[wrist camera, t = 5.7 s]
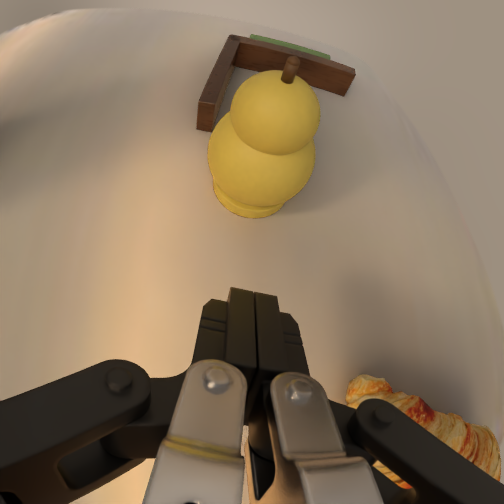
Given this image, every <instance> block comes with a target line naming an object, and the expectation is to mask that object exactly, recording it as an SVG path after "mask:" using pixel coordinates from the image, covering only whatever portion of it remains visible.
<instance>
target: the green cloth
mask: <svg viewBox="0 0 504 504" xmlns="http://www.w3.org/2000/svg"><path fill="white" fill-rule="evenodd" d="M250 38H251V39H256V40H260V41H264V42H269V43H273V44H277V45H281V46H285V47H288V48H292V49H296V50H299V51H303V52H306V53H309V54H313V55H316V56H319V57H322V58H325V59H328V60H330V55H327V54H324V53H321V52H318V51H314V50H311V49H308V48H305V47H301V46H298V45H294V44H290V43H287V42H283V41H279V40H275V39H271V38H267V37H262V36H258V35H253V34H251V36H250Z"/></svg>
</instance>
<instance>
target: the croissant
mask: <svg viewBox="0 0 504 504" xmlns="http://www.w3.org/2000/svg"><path fill="white" fill-rule="evenodd" d="M371 398H377V399H382V400H385V401H387V402H389V403H391V404H393V405H394V406H395V407H397V408H398V409H399V410H401V411H402V412H403V413H405V414H406V415H407V416H409V417H410V418H411V419H413V420H414V421H415V422H417V423H418V424H419V425H421V426H422V427H423V428H425V429H426V430H427V431H429V432H430V433H432V434H433V435H434V436H436V437H437V438H438V439H440V440H441V441H442V442H444V443H445V444H447V445H448V446H449V447H451V448H452V449H453V450H455V451H456V452H458V453H459V454H460V455H462V456H463V457H465V458H466V459H467V460H469V461H470V462H472V463H473V464H475V465H476V466H477V467H479V468H480V469H482V470H483V471H485V472H486V473H487V474H489V475H490V476H492V477H493V478H495V479H496V480H498V481H500V475H501V458H500V449H499V446H498V443H497V441H496V438H495V436H494V434H493V433H492V432H491V430H490V429H489V428H488V427H487V426H479V425H476V424H470V423H466V422H465V421H463V420H462V417H461V416H459V415H456V414H453V413H448V414H447V415H446V414H444V413H440V412H437V411H434V410H432V409H431V408H430V407H429V406H428V405H427V404H426V403H425V402H424V401H423V400H422V399H421V398H420V397H418V396H415V395H410V396H408V395H406V394H405V393H403V392H402V391H400V392H396V393H393V392H392V388H391V387H390V385H389V383H387V382H386V381H385V379H384V378H375V377H372V376H369V375H366V374H364V375H359V376H358V377H356V378H354V380H351V381H350V382H349V386H348V389H347V394H346V399H345V400H346V402H347V406H349V407H352V408H355V409H357V407H358V406H359V404H360V403H361V402H363V401H364V400H366V399H371ZM373 466H374V467H375V468H376V469H378V470H379V471H380V472H381V473H383V474H384V475H385V476H387V477H388V478H389V479H390V480H392V481H393V482H394V483H396V484H397V485H398V486H400V487H401V488H405V489H409V488H412V486H410V485H409V484H408V483H406V482H405V481H404V480H402V479H401V478H400V477H398V476H397V475H396V474H394V473H393V472H392V471H391V470H389V469H388V468H387V467H386V466H384V465H383V464H382V463H380V462H379V461H377V462H376V463H375V464H374V465H373Z"/></svg>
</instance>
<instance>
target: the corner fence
mask: <svg viewBox="0 0 504 504" xmlns="http://www.w3.org/2000/svg"><path fill="white" fill-rule="evenodd" d="M290 56H296V57H298V58H299V60H300V65H299V68H298V70H297V73H296V76H298V77H300V78H301V79H303V80H304V81H305V82H306V83H307V84H308V85H311V86H314V87H317V88H320V89H324V90H327V91H330V92H333V93H336V94H339V95H342V96H345V94H346V92H347V90H348V88H349V87H350V85H351V83H352V81H353V79H354V77H355V75H356V74H355V69H354V68H351V67H348V66H346V65H343V64H340V63H337V62H334V61H331V60H328V59H325V58H322V57H319V56H316V55H313V54H309V53H306V52H303V51H299V50H296V49H292V48H288V47H285V46H281V45H277V44H273V43H269V42H264V41H260V40H256V39H251V38H246V37H241V36H236V35H229V37H228V39H227V41H226V43H225V45H224V47H223V49H222V51H221V53H220V55H219V57H218V59H217V61H216V64H215V66H214V68H213V70H212V72H211V74H210V76H209V79H208V81H207V83H206V85H205V88H204V90H203V92H202V94H201V97H200V99H199V102H198V114H197V128H196V129H198V130H203V131H208V132H212V129H213V126H214V123H215V120H216V117H217V115H218V112H219V109H220V106H221V103H222V100H223V98H224V95H225V92H226V89H227V87H228V84H229V81H230V78H231V76H232V73H233V70H234V68H235V67H240V68H245V69H250V70H254V71H258V72H264V71H270V70H280V71H283V70H284V67H285V64H286V61H287V59H288V58H289V57H290Z"/></svg>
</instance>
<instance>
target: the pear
mask: <svg viewBox="0 0 504 504" xmlns="http://www.w3.org/2000/svg"><path fill="white" fill-rule="evenodd" d="M299 65H300V60H299V58H298V57H296V56H290V57H289V58H288V59H287V61H286V64H285V67H284V70H283V71H280V70H270V71H264V72H260V73H258V74H255V75H253V76H252V77H250V78H248V79H247V80H246V81H245V82H244V83H243V84H241V86H240V87H239V88H238V90H237V91H236V93H235V95H234V97H233V100H232V103H231V110H230V111H229V112H228V113H227V114H226V115H225V116H223V117H222V118H221V120H220V121H219V122H218V123H217V125H216V126H215V128H214V130H213V132H212V134H211V137H210V140H209V144H208V164H209V168H210V171H211V174H212V176H213V187H214V191H215V194H216V196H217V198H218V200H219V201H220V202H221V203H222V205H223V206H224V207H226V208H227V209H228V210H229V211H231V212H233V213H235V214H237V215H239V216H243V217H247V218H262V217H266V216H269V215H272V214H274V213H275V212H277V211H278V210H279V209H280V208H281V207H282V206H283V205H284V203H285V201H287V200H289V199H291V198H292V197H294V196H295V195H296V194H297V193H298V192H299V191H301V190H302V188H303V187H304V186H305V185H306V183H307V182H308V180H309V178H310V176H311V174H312V171H313V168H314V164H315V145H314V140H313V136H314V135H315V133H316V131H317V129H318V126H319V122H320V105H319V102H318V99H317V96H316V94H315V93H314V91H313V90H312V88H311V87H310V86H309V85H308V84H307V83H306V82H305V81H304V80H303V79H301V78H300V77H298V76H296V73H297V70H298V68H299Z"/></svg>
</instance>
